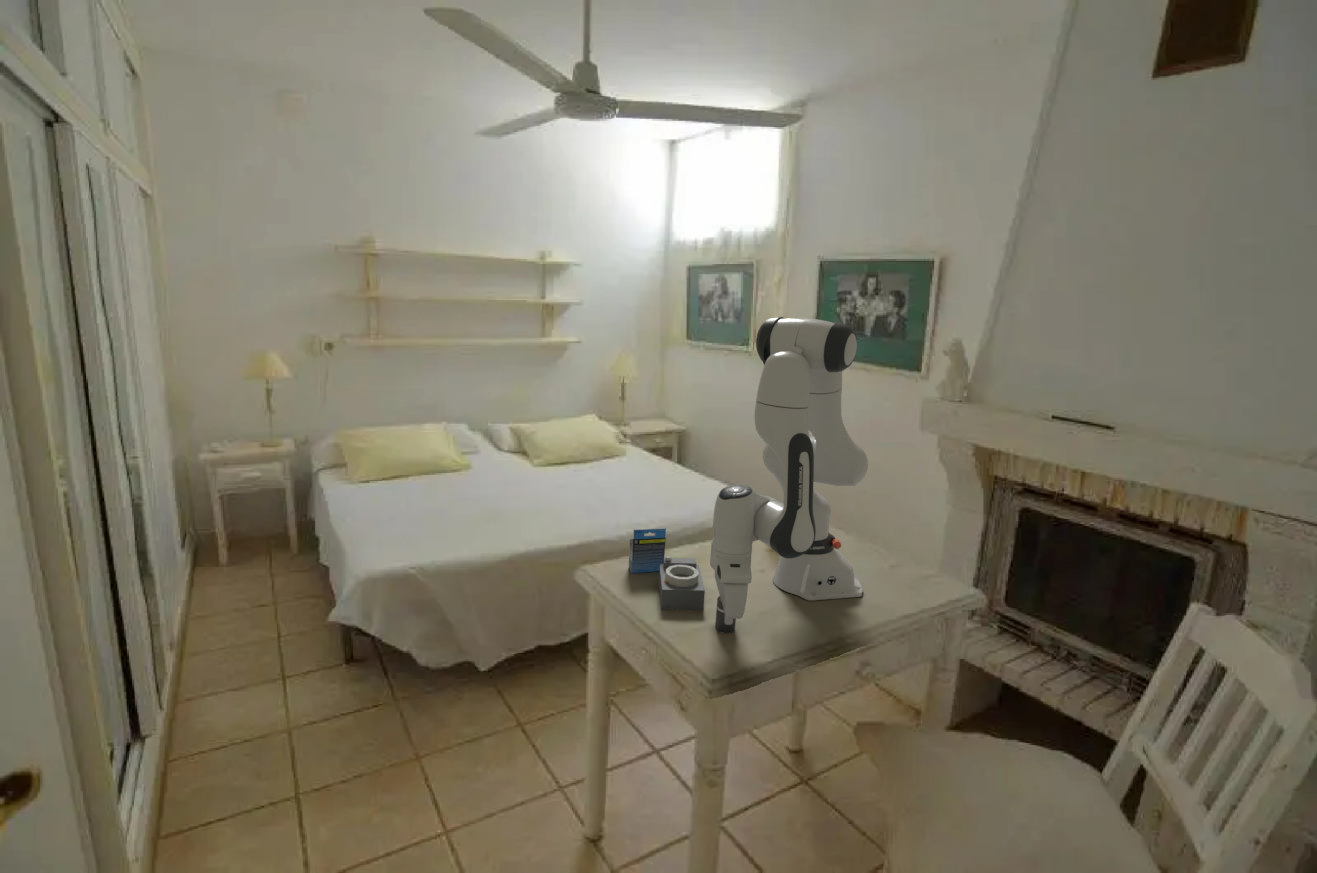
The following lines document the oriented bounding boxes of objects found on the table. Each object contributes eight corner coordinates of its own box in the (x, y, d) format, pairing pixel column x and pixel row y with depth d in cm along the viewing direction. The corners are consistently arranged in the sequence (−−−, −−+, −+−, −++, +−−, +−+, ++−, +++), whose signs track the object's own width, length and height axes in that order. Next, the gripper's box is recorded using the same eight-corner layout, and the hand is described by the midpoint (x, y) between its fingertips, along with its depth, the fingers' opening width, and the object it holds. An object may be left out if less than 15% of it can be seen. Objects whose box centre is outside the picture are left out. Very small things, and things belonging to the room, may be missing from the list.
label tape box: (660, 565, 179) (662, 522, 176) (664, 572, 175) (666, 528, 172) (628, 567, 176) (630, 524, 173) (631, 574, 172) (633, 530, 170)
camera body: (697, 582, 169) (699, 555, 168) (703, 610, 156) (705, 580, 154) (658, 582, 169) (660, 554, 167) (661, 609, 155) (662, 579, 153)
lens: (733, 623, 151) (735, 594, 149) (736, 633, 146) (739, 604, 144) (713, 622, 150) (715, 594, 149) (716, 633, 146) (718, 603, 144)
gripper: (710, 539, 154) (706, 594, 157) (722, 579, 134) (717, 640, 138) (737, 540, 154) (733, 594, 158) (753, 580, 135) (747, 640, 138)
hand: (726, 616), depth 148 cm, fingers closed on lens, 4 cm apart
